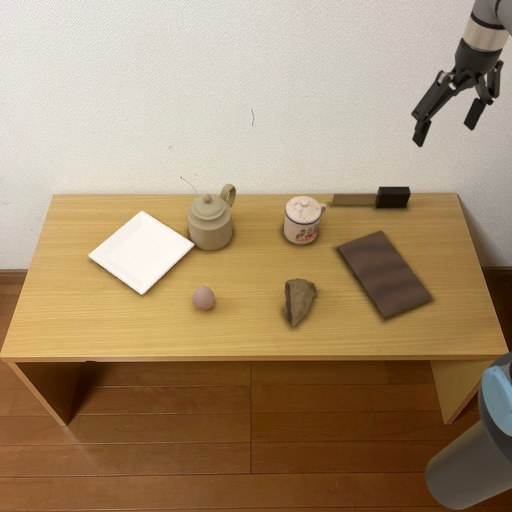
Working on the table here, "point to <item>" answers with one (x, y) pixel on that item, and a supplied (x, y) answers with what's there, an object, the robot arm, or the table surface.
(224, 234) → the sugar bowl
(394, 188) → the knife
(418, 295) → the cutting board
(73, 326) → the table surface
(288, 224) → the teacup with lid
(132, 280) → the plate
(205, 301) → the egg
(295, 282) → the rock
